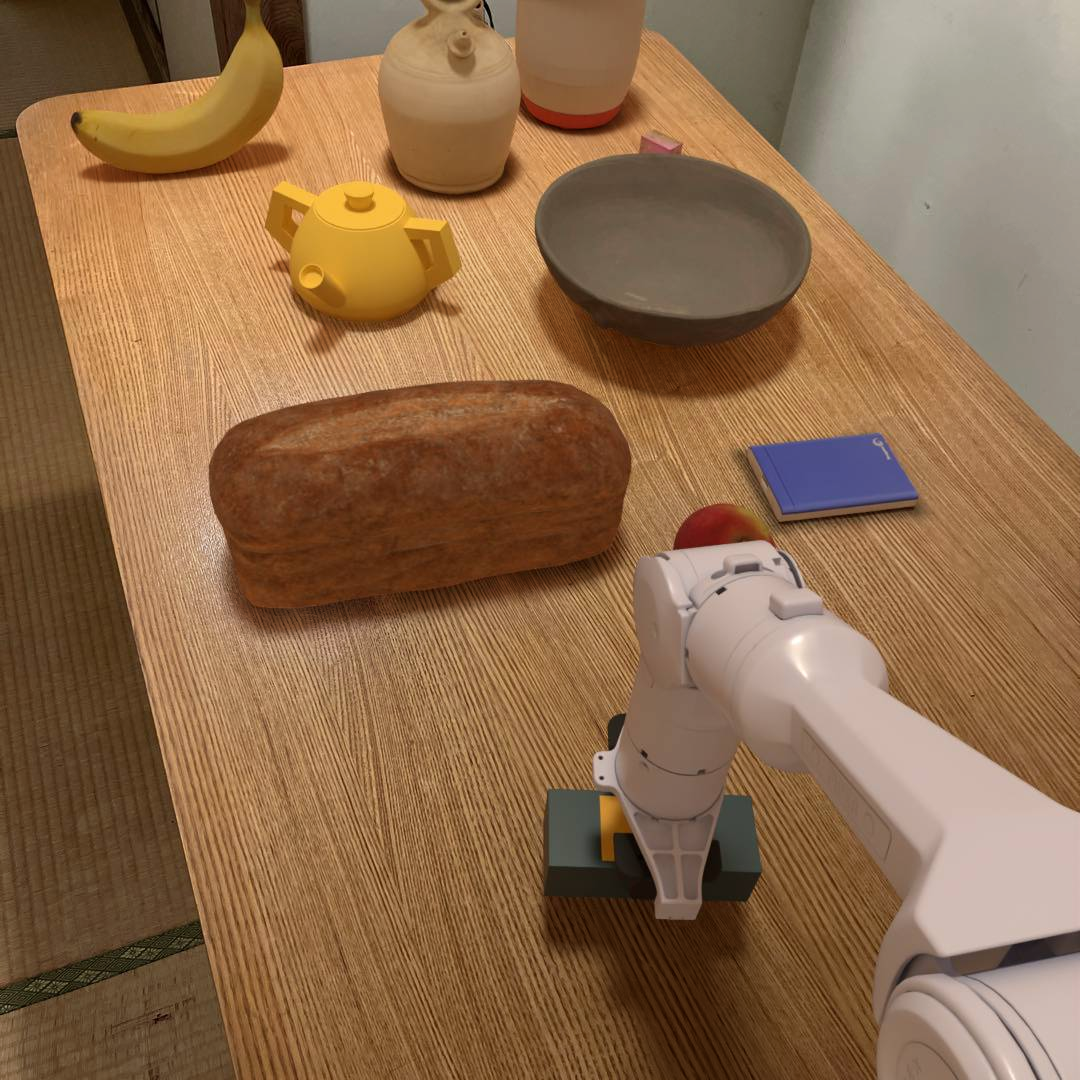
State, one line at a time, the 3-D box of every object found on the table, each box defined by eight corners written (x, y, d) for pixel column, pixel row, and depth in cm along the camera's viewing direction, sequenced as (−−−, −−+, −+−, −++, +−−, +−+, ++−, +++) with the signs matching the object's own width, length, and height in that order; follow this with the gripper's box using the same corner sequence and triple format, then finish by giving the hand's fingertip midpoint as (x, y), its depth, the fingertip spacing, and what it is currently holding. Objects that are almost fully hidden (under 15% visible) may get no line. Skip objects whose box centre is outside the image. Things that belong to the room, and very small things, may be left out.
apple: (662, 621, 82) (680, 552, 76) (668, 543, 87) (685, 473, 81) (762, 636, 81) (787, 568, 76) (762, 557, 87) (785, 487, 81)
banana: (86, 190, 116) (34, -4, 101) (82, 163, 119) (32, -28, 104) (296, 167, 122) (277, -18, 107) (287, 142, 125) (267, -41, 111)
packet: (737, 827, 66) (751, 794, 63) (747, 902, 63) (762, 871, 60) (543, 820, 66) (548, 787, 63) (543, 896, 62) (548, 865, 59)
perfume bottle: (603, 182, 124) (607, 145, 121) (666, 148, 131) (672, 112, 127) (685, 225, 119) (692, 188, 116) (747, 187, 126) (755, 151, 122)
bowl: (817, 283, 114) (844, 197, 106) (743, 431, 97) (768, 342, 90) (590, 213, 120) (600, 127, 112) (483, 341, 103) (486, 250, 96)
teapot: (219, 327, 102) (199, 224, 93) (304, 228, 114) (293, 129, 105) (417, 378, 99) (415, 276, 91) (482, 272, 111) (486, 173, 102)
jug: (391, 129, 129) (382, -102, 110) (519, 140, 129) (533, -88, 111) (372, 197, 119) (360, -46, 100) (512, 208, 119) (525, -31, 101)
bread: (220, 515, 86) (192, 384, 76) (588, 462, 93) (606, 336, 83) (234, 634, 78) (204, 506, 68) (633, 567, 85) (659, 442, 75)
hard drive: (879, 430, 96) (749, 443, 94) (920, 495, 91) (783, 511, 88) (874, 443, 97) (746, 456, 95) (914, 508, 92) (779, 524, 90)
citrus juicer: (574, 65, 144) (590, -100, 129) (658, 121, 135) (684, -50, 120) (477, 91, 137) (482, -81, 122) (558, 151, 128) (574, -26, 113)
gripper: (597, 606, 58) (573, 740, 68) (609, 860, 48) (580, 972, 58) (726, 611, 58) (684, 743, 68) (765, 864, 49) (709, 975, 59)
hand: (644, 849), depth 63 cm, fingers closed on packet, 5 cm apart
